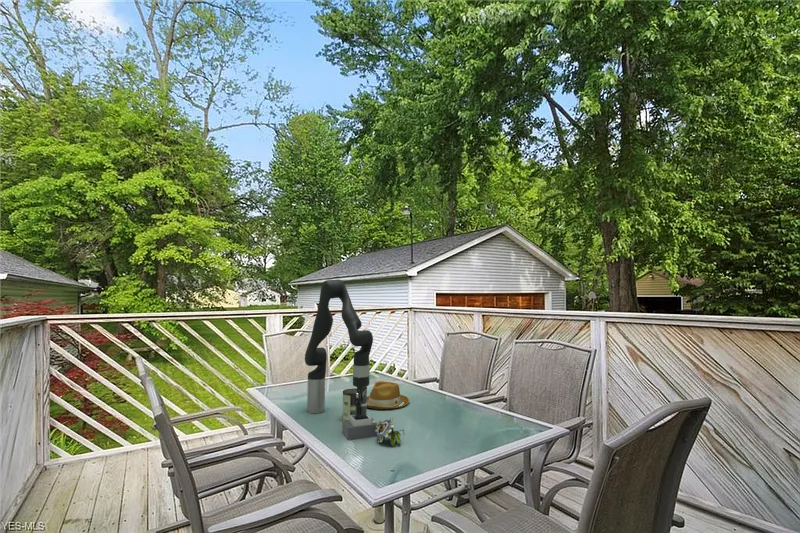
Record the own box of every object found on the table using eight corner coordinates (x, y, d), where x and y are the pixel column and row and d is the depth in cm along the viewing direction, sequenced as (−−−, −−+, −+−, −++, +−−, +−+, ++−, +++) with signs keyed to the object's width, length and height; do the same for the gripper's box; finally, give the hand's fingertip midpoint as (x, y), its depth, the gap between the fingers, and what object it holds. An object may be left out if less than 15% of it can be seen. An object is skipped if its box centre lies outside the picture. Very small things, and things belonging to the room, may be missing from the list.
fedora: (350, 404, 224) (350, 383, 224) (384, 394, 246) (384, 375, 246) (384, 414, 206) (385, 391, 207) (418, 402, 228) (418, 382, 229)
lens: (353, 420, 176) (354, 397, 177) (357, 417, 181) (357, 395, 182) (364, 421, 175) (365, 398, 176) (367, 418, 180) (368, 396, 181)
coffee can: (365, 416, 202) (365, 388, 203) (359, 423, 192) (359, 393, 193) (346, 415, 204) (346, 387, 205) (339, 421, 194) (339, 392, 195)
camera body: (342, 432, 180) (342, 415, 180) (371, 428, 185) (371, 412, 186) (347, 440, 171) (347, 422, 171) (378, 435, 176) (378, 418, 176)
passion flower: (379, 456, 168) (368, 428, 173) (401, 445, 173) (389, 419, 179) (388, 448, 160) (376, 420, 165) (410, 438, 165) (398, 411, 171)
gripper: (357, 371, 187) (356, 407, 186) (348, 377, 173) (348, 417, 172) (372, 371, 186) (372, 408, 185) (365, 378, 172) (365, 418, 171)
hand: (360, 412), depth 179 cm, fingers closed on lens, 5 cm apart
